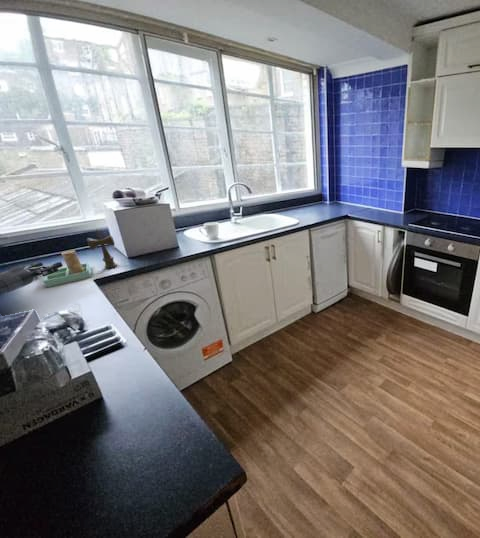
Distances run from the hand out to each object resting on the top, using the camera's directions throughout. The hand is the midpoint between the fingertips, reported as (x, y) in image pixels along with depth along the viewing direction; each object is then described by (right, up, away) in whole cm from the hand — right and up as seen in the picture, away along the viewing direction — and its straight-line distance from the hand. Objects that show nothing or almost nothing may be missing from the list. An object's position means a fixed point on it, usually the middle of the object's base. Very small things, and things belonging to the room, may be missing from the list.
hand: (51, 264), depth 128 cm
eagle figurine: (-22, -6, +14) cm, 27 cm away
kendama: (+7, -1, +23) cm, 24 cm away
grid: (-5, -6, +13) cm, 15 cm away
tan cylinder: (0, -5, +12) cm, 13 cm away
